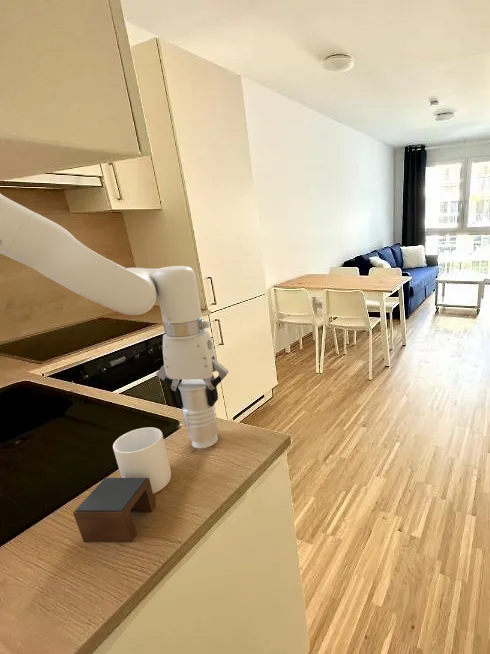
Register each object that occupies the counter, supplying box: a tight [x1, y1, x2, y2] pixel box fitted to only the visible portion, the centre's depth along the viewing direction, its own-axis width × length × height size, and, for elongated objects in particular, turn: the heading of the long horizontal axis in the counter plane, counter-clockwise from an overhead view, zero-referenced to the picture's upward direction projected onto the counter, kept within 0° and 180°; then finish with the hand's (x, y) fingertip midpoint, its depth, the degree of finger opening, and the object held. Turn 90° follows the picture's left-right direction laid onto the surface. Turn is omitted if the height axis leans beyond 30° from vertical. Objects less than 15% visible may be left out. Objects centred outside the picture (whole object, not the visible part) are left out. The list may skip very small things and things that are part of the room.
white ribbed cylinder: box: [178, 379, 220, 449], centre depth 82 cm, size 7×7×15 cm
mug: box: [112, 426, 172, 495], centre depth 71 cm, size 12×8×10 cm
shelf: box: [72, 477, 157, 543], centre depth 61 cm, size 8×8×6 cm
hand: (198, 403), depth 81 cm, fingers closed on white ribbed cylinder, 6 cm apart
